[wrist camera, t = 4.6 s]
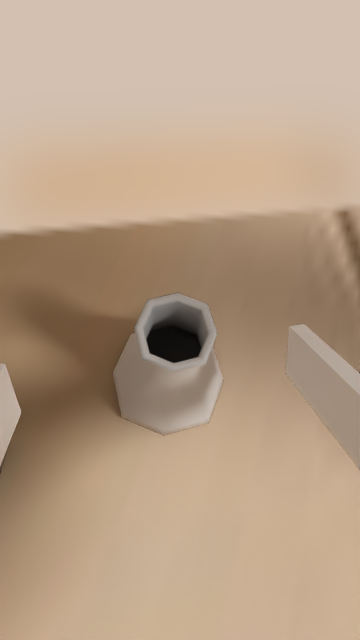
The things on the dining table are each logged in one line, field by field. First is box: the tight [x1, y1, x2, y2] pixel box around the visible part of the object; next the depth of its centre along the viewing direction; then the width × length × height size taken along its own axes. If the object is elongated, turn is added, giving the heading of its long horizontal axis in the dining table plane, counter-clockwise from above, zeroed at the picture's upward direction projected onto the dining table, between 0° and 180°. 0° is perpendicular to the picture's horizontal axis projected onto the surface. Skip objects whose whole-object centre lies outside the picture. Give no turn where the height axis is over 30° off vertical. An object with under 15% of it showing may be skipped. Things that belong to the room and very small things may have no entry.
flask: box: [113, 293, 224, 435], centre depth 18 cm, size 7×7×10 cm
